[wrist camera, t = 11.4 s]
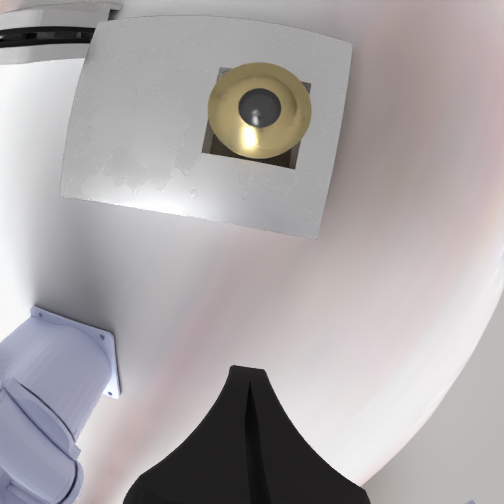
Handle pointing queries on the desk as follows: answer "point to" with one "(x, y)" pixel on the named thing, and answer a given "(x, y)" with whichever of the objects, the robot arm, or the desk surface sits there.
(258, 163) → the jig
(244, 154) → the bushing
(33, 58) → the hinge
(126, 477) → the desk surface
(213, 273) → the desk surface
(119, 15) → the desk surface
